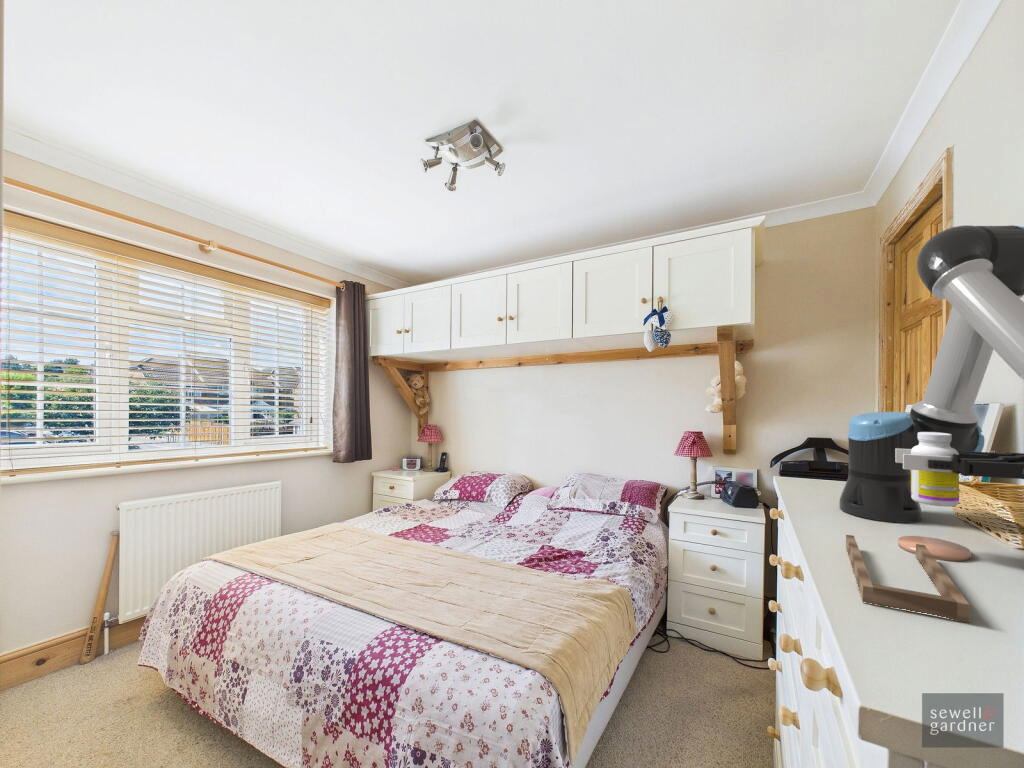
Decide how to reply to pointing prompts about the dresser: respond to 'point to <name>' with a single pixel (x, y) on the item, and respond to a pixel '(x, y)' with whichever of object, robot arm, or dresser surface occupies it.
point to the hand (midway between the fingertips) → (899, 458)
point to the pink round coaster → (935, 548)
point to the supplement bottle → (931, 483)
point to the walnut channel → (944, 605)
